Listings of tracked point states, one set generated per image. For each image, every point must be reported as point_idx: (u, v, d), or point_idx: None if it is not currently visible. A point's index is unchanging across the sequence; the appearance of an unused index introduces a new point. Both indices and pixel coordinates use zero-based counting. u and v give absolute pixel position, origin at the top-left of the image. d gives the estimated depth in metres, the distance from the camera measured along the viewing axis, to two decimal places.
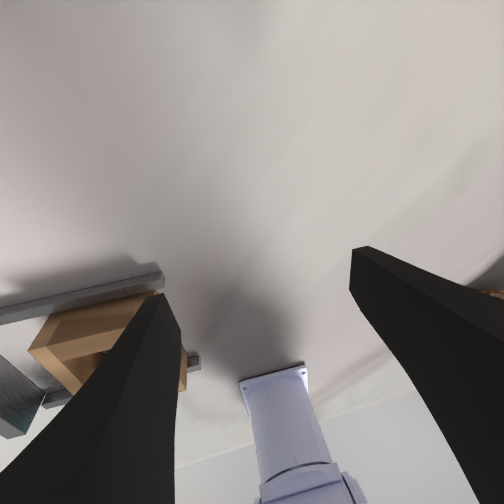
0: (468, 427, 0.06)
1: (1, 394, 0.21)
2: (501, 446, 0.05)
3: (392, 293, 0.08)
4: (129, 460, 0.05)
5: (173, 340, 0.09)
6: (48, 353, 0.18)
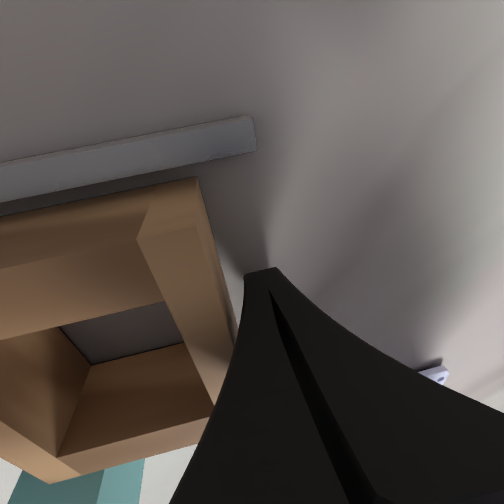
0: None
1: None
2: None
3: (279, 321, 0.08)
4: None
5: None
6: None
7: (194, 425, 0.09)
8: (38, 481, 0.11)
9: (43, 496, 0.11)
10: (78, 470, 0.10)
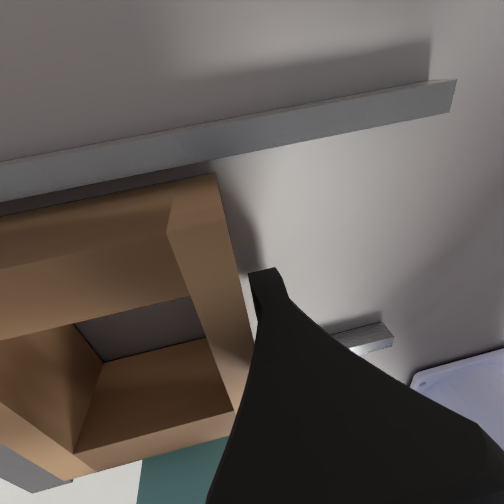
0: None
1: None
2: None
3: None
4: None
5: None
6: None
7: (210, 421, 0.09)
8: None
9: (176, 460, 0.11)
10: (93, 467, 0.10)
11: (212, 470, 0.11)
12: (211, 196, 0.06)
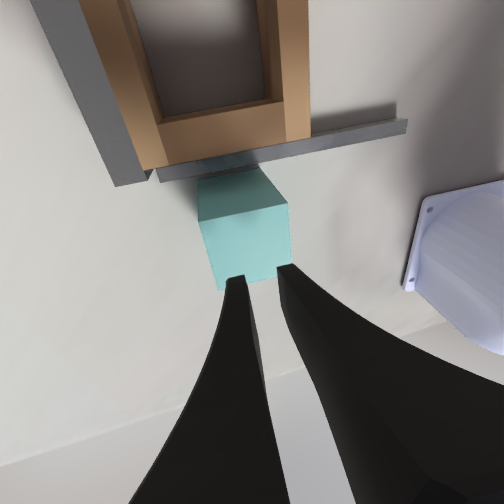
0: (352, 461, 0.06)
1: None
2: (368, 486, 0.05)
3: (300, 316, 0.08)
4: None
5: (254, 320, 0.09)
6: None
7: (263, 113, 0.11)
8: (216, 190, 0.14)
9: (226, 193, 0.14)
10: (167, 158, 0.12)
11: (259, 191, 0.13)
12: None
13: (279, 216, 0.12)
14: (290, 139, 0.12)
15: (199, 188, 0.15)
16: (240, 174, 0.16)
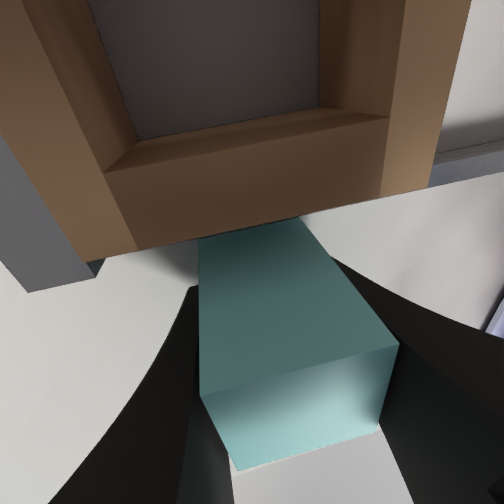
0: (408, 444, 0.06)
1: None
2: (433, 467, 0.05)
3: None
4: (205, 439, 0.05)
5: None
6: None
7: (344, 142, 0.05)
8: (231, 274, 0.08)
9: (252, 283, 0.07)
10: (133, 237, 0.06)
11: (316, 287, 0.07)
12: None
13: (375, 365, 0.05)
14: (388, 192, 0.06)
15: (201, 262, 0.08)
16: (269, 230, 0.10)
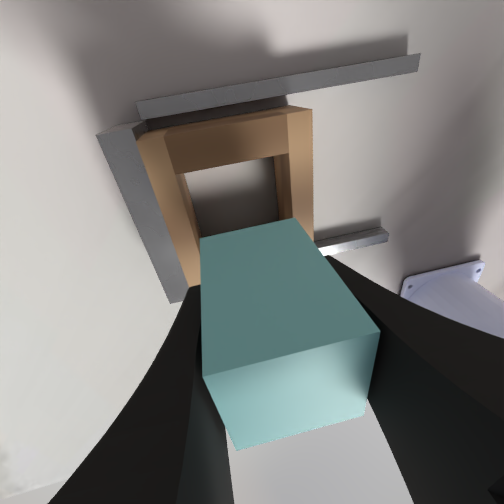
0: (408, 444, 0.06)
1: None
2: (433, 467, 0.05)
3: None
4: (204, 439, 0.05)
5: None
6: (163, 153, 0.12)
7: None
8: (231, 270, 0.08)
9: (250, 278, 0.08)
10: None
11: (308, 282, 0.07)
12: (297, 108, 0.13)
13: (359, 351, 0.06)
14: None
15: (202, 259, 0.09)
16: (266, 230, 0.10)
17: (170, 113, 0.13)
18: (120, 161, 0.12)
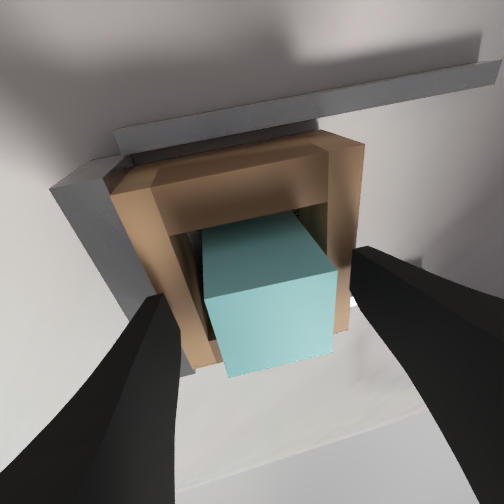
0: (468, 427, 0.06)
1: None
2: (501, 446, 0.05)
3: (392, 293, 0.08)
4: (129, 460, 0.05)
5: (173, 340, 0.09)
6: (151, 209, 0.08)
7: None
8: (227, 235, 0.10)
9: (242, 240, 0.10)
10: (215, 358, 0.13)
11: (288, 242, 0.09)
12: (337, 137, 0.09)
13: (323, 287, 0.08)
14: None
15: (204, 228, 0.11)
16: None
17: (162, 146, 0.10)
18: (88, 222, 0.08)
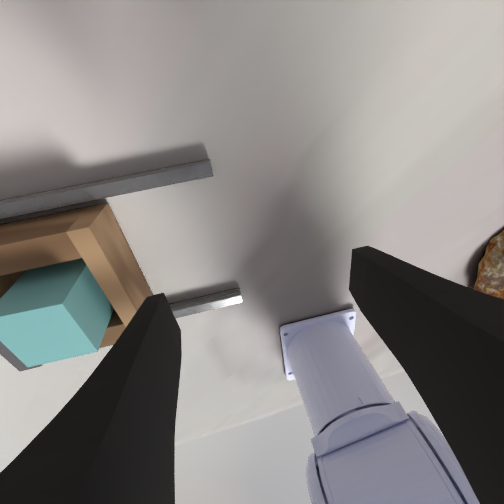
0: (468, 427, 0.06)
1: None
2: (501, 446, 0.05)
3: (392, 293, 0.08)
4: (129, 460, 0.05)
5: (173, 340, 0.09)
6: None
7: (112, 330, 0.18)
8: (36, 275, 0.16)
9: (39, 280, 0.15)
10: None
11: (61, 282, 0.15)
12: (93, 216, 0.15)
13: (59, 313, 0.13)
14: None
15: (29, 269, 0.17)
16: None
17: None
18: None
